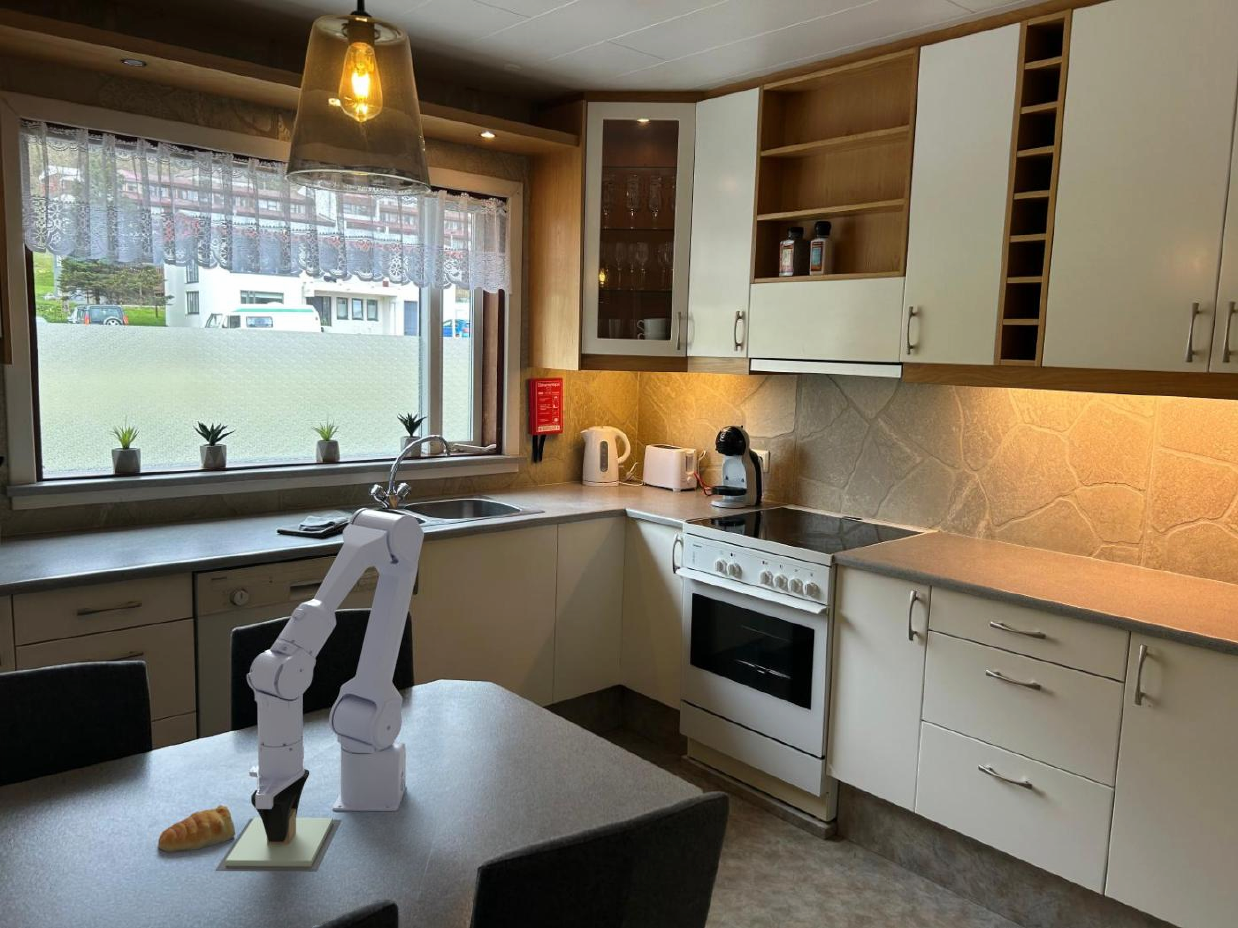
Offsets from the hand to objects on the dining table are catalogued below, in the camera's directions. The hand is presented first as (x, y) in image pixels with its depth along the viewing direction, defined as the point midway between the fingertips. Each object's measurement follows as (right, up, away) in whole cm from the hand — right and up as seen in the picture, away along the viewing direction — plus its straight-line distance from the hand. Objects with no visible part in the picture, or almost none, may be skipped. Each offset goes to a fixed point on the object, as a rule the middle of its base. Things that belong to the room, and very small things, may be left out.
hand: (281, 832), depth 125 cm
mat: (0, -2, 0) cm, 2 cm away
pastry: (-11, -2, +1) cm, 12 cm away
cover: (0, -2, 0) cm, 2 cm away
